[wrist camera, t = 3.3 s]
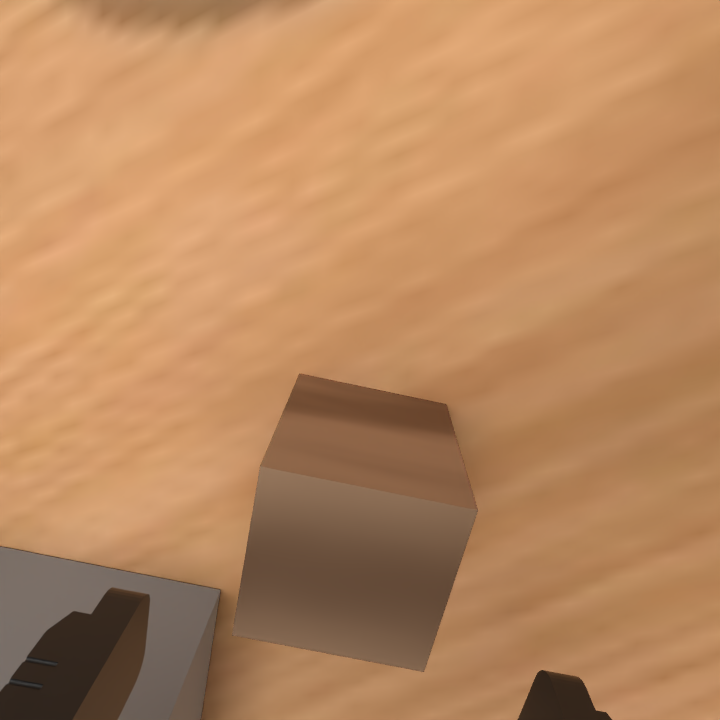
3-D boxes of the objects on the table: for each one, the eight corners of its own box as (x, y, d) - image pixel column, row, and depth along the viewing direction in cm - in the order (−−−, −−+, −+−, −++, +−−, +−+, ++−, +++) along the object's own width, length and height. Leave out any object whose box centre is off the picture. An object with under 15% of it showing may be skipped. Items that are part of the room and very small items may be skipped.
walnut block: (299, 372, 17) (259, 466, 12) (445, 403, 17) (478, 510, 12) (276, 499, 19) (232, 635, 13) (410, 525, 19) (424, 672, 13)
